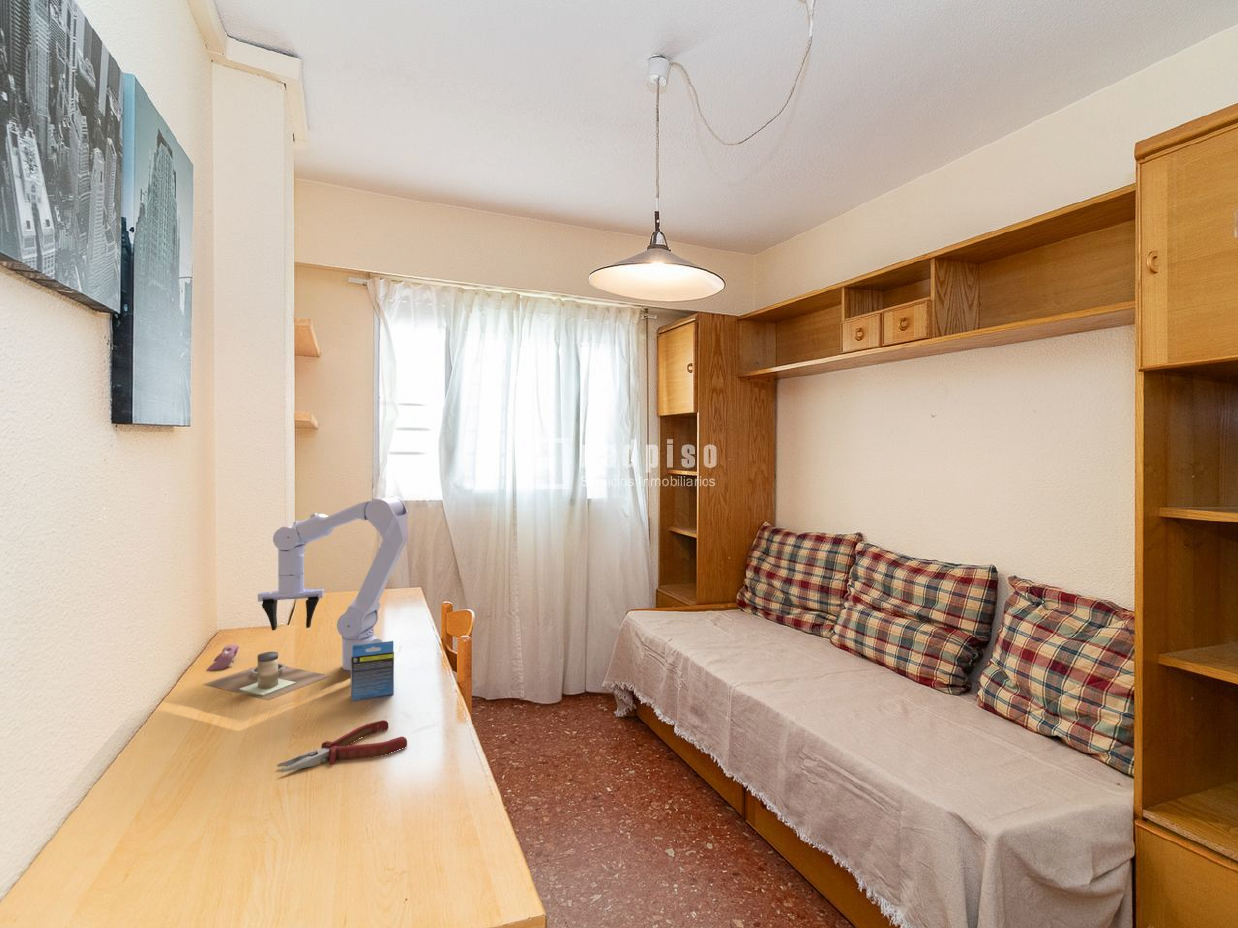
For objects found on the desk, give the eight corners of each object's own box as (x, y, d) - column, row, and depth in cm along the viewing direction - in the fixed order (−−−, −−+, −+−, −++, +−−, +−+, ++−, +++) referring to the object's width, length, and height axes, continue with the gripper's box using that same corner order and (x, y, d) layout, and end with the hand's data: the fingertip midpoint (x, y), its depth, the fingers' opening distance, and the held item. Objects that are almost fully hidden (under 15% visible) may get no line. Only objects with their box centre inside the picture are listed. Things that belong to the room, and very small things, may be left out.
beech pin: (282, 683, 138) (282, 652, 138) (265, 689, 135) (265, 658, 135) (270, 681, 140) (269, 650, 140) (253, 687, 136) (253, 655, 136)
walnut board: (331, 681, 145) (331, 675, 145) (268, 706, 130) (268, 699, 130) (267, 668, 154) (267, 662, 154) (202, 690, 139) (202, 684, 139)
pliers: (271, 762, 107) (271, 747, 107) (386, 729, 121) (386, 716, 121) (287, 789, 99) (287, 773, 99) (409, 751, 112) (409, 736, 112)
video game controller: (223, 681, 149) (238, 654, 150) (203, 675, 147) (218, 648, 148) (231, 668, 158) (245, 643, 159) (212, 662, 156) (226, 637, 157)
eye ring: (291, 670, 148) (291, 665, 148) (264, 680, 141) (264, 674, 141) (271, 666, 151) (271, 661, 151) (244, 675, 144) (244, 670, 144)
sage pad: (296, 683, 139) (296, 682, 139) (263, 696, 132) (263, 694, 132) (272, 678, 143) (272, 676, 143) (238, 690, 135) (238, 688, 135)
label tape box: (392, 689, 140) (392, 635, 140) (394, 695, 137) (394, 640, 137) (350, 695, 137) (350, 640, 137) (351, 701, 133) (351, 645, 133)
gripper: (325, 569, 159) (325, 621, 159) (262, 572, 154) (263, 625, 154) (321, 574, 152) (321, 628, 152) (255, 577, 148) (255, 633, 148)
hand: (291, 627), depth 153 cm, fingers open, 7 cm apart
